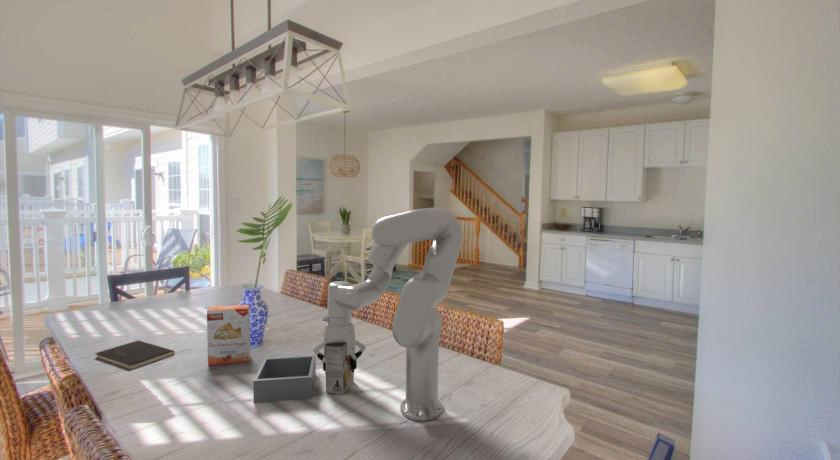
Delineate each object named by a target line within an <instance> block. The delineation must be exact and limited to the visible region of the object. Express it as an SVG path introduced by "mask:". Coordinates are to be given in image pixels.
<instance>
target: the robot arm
mask: <svg viewBox="0 0 840 460" xmlns="http://www.w3.org/2000/svg"><path fill="white" fill-rule="evenodd" d="M371 237H372V239H373V242H374V244H373V245H372V248H371V249H370V251H369V252H368V255H367V257H368V261H369V262H370V263H371V264H372V266H373V267H372V270H371V272H370V273H369V275H368V277H367V278H366V280H365V281H362V282H359V283H355V284H352V285H351V283H350V282H349V281H345V280H336V281H332V282H330V283H329V284H328V285H327V315H326V316H322V317H323V320H322V321H323V322H326V324H325V327H324V333H323V341H322V342H320V344H318V345H317V346H315V347H314V348H313V350H312V351H313V352H314V354H315V355H316V356H317V358H318V359H319V360H320V361H321V362H322V371H323V372H324V375H326V366H325V344H329V343H347V356H349V355H351V356H352V372H353V373H355V369H357V361H358V360H359V358H360V357H361V356H362V355H363V353H364V351H366V347H367V346H366V345H365V344H364V343H362V342H360V341H358V340H357V339H356V329H355V324H354V322H353V321H352V311H357V310H361V309H363V308H364V307H367V306H369V305H372V304H374V303H376V302H377V301H378V300H379V299H380V298H381V297H382V295H383V294H384V292H385V291H386V289H387V288H388V286H389V285H390V282H391V280H392V275H393V269H394V267H395V266H396V265H395V264H396V263H397V262H398V260H399V259H400V257H401V255H402V254H403V252H404V251H405V249H406V248H407V246H408V244H411V243H416V242H422V241H427V240H432V239H433V240H432V244H431V245H430V248H429V249H428V252H427V255H426V258H425V260H424V261H425V262H424V264H423V267H422V270H421V272H420V273H419V274H417V275H415V276H413V277H411V278H409V279H408V280H407V281H406V283H405V284H404V285H403V288H402V289H401V292H400V295H399V299H398V301H397V306H396V309H395V313H394V316H393V320H392V324H391V332H392V333H391V334H392V336H393V339H394V341H395V342H396V343H397V345H399V346H400V347H402V348H405V350H406V351H405V353H406V354H405V356H406V357H405V399H404V400H402V401H401V403H400V406H399V407H400V408H399V409H400V412H401V414H402V416H404V417H405V418H407V419H409V420H414V421H422V422H424V421H430V420H434V419H437V418H439V417H440V415H442V413H443V411H444V409H443V407H444V406H443V403H442V402H441V400H438V399H439V359H440V358H439V357H440V355H439V353H440V352H439V351H440V339H441V334H442V326H443V325H442V323H443V321H442V315H441V313H440V311H439V310H438V308H437V307H436V306H437V305H438V304H440V303H442V302H443V301H444V300H445V299H446V297H447V295H448V291H449V288H450V286H451V282H452V280H453V279H452V278H453V276H454V272H455V268H456V265H457V261H458V258H459V254H460V251H461V248H462V243H463V231H462V227H461V224H460V222H459V221H458V218H457V217H456V216H455V215H454V214H453V213H452V212H451V211H449V210H448V209H446V208H443V207H442V208H441V207H427V208H426V207H424V208H417V209H411V210H407V211H404V212H400V213H396V214H391V215H386V216H383V217H381V218H379V219H377V220H376V221H375V222H374V224H373V226H372V229H371ZM356 347H358V348H359V350H358V351H356V349H357V348H356ZM322 349H323V353H322V352H321V351H320V350H322Z"/></svg>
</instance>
